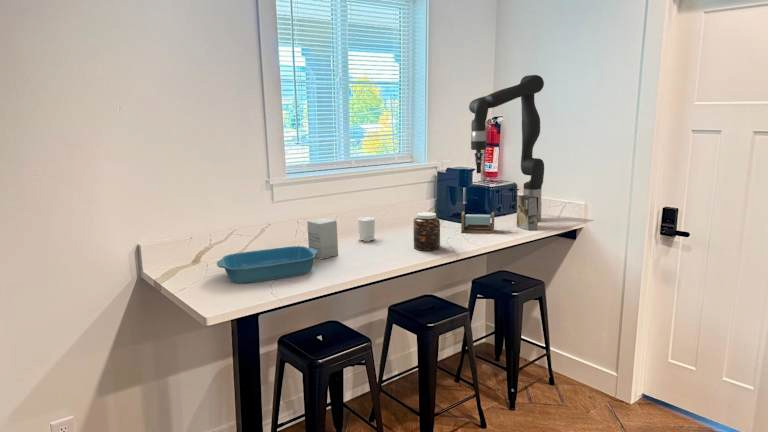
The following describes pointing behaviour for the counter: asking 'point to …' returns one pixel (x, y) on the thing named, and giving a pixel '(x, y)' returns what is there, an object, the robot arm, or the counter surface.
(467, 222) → the light teal block
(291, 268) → the casserole dish
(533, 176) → the robot arm
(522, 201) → the coffee box
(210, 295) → the counter surface
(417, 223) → the jar
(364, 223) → the white cup
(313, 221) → the supplement box
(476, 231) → the shelf rack
